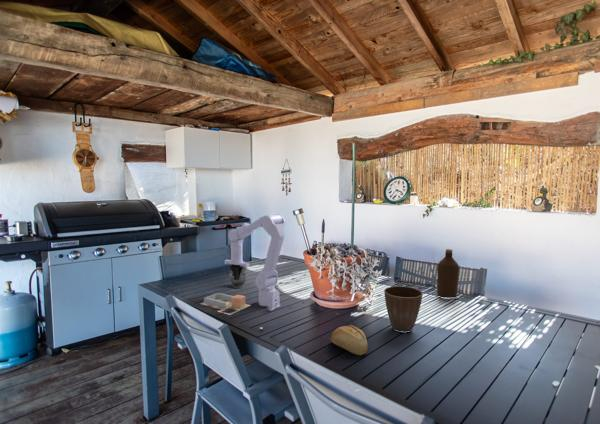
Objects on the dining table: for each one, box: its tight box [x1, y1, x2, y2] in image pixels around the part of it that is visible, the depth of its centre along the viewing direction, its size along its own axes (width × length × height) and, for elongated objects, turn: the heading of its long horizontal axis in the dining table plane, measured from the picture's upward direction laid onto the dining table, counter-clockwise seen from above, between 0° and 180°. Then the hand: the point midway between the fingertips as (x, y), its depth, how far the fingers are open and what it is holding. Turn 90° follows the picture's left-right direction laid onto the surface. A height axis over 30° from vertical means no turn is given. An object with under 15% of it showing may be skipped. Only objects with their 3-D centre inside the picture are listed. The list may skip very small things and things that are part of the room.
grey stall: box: [203, 292, 235, 308], centre depth 176 cm, size 13×10×2 cm
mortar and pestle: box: [228, 267, 248, 289], centre depth 207 cm, size 11×9×12 cm
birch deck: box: [199, 299, 252, 316], centre depth 173 cm, size 22×14×2 cm
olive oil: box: [436, 248, 460, 298], centre depth 193 cm, size 11×11×25 cm
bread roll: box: [330, 324, 369, 356], centre depth 134 cm, size 10×15×8 cm, turn 46°
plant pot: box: [383, 285, 424, 332], centre depth 150 cm, size 15×15×16 cm
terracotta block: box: [232, 294, 246, 309], centre depth 171 cm, size 4×4×4 cm
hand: (236, 279), depth 187 cm, fingers closed
